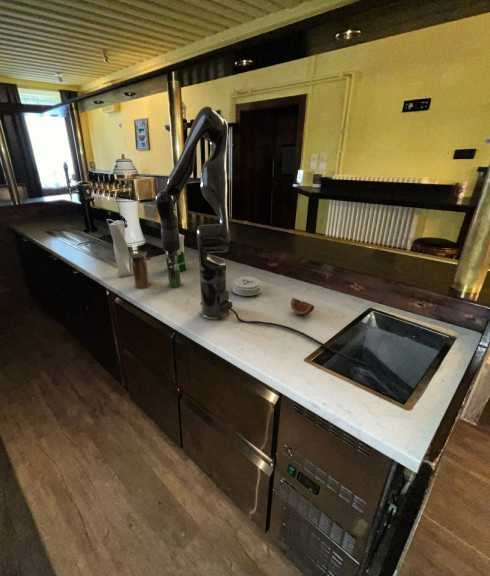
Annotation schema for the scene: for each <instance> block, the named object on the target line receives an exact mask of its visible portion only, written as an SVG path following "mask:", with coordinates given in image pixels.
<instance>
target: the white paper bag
mask: <svg viewBox="0 0 490 576" xmlns="http://www.w3.org/2000/svg"><path fill="white" fill-rule="evenodd" d="M109 221H111V223H109ZM106 222H107V224H108V229H109V232H110V235H111V239H112V243H113V244H112V245H113V246H112V247H113V255H114V260H115V263H116V267H117V270H118V274H119V278H125V277H130V276H131V277H132V276H134V275H133V269H132V257H131V253H130V250H129V247H128V244H127V241H126V227H125V221H123V220H121V219H120V220H118V219H117V220H113V219H110V218H107V219H106Z"/></svg>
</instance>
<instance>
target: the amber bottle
mask: <svg viewBox="0 0 490 576" xmlns="http://www.w3.org/2000/svg"><path fill="white" fill-rule="evenodd" d="M131 259H132V269H133V275H132V276H133V282H134V287H135V288H136V289H147V288H148V287H149V286H150V279H149V271H148V264H147V260H146V259H145V254H144V253H135V254H133V255H131Z"/></svg>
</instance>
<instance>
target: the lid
mask: <svg viewBox="0 0 490 576" xmlns="http://www.w3.org/2000/svg"><path fill="white" fill-rule="evenodd" d="M231 286H232V287H231V291H232V292H233V293H234V294H237V295H239V296H245V297H247V296H249V297H250V296H251V297H252V296H255V295H259V294H261V293H262V291H263V282H262V281H261V280H260V279H259V278H257V277H253V276H241V277H238V278H236V279H234V280H233V281H232V282H231Z"/></svg>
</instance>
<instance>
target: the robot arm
mask: <svg viewBox="0 0 490 576" xmlns="http://www.w3.org/2000/svg"><path fill="white" fill-rule="evenodd" d="M228 135H229V124H228V121H227V119H226V118H225V116H223V115H222V114H221V113H219V112H217V111H216V110H215V109H214V108H213V107H210V106H203V107H202V108H200V110H199V111H198V112H197V114H196V115H195V118H194V120H193V122H192V125H191V127H190V130H189V132H188V135H187V137H186V140H185V142H184V145H183V148H182V151H181V152H180V155H179V158H178V159H177V161H176V163H175V165H174V167H173V169H172V170H171V172H170V174H169V176H168V179H167V183H166V185H165V187H164V189H163V190H160V191H158V192H157V194H156V196H155V205H156V210H157V213H158V216H159V221H160V222H159V223H160V237H161V245H162V250H163V251H164V252H166V251H167V252H168V254H167V259H166V258H165V260H166V267H167V266H168V270H167V272H168V271H170V278H175V277H176V276H175V265H176V264H178V263H177V262H178V254H177V250H179V249H180V239H179V234H180V232H179V226H178V216H177V215H176V214H175V211H174V206H175V204H176V203H177V202H178V200H179V198H180V196H181V194H182V192H183V189H184V188H185V186H186V185H187V183H188V182H189V181H190V178H191V177H192V175H193V172H194V169H195V163H196V162H195V161H196V151H197V147H198V144H199V142H200V140H201V138H204V139H205V140H207V141H208V142H209V146H210V152H209V156H208V158H207V159H206V160H205V162H204V163H203V165H202V166H201V169H200V175H199V176H200V178H199V179H200V191H201V193H202V196H203V197H204V199H205V200H206V202H207V203H208V204H209V205H210V206H211V208H212V209H213V211H214V213H215V215H216V217H217V219H218V224H217V223H214V224H200V225H198V226H197V228H196V243H197V251H198V252H197V253H198V264H199V265H198V266H199V267H198V268H199V283H200V285H199V286H200V300H201V301H200V306H201V316H202V317H203V318H205V319H207V320H213V321H214V320H218V321H221V320H223V319H224V318H225V317H227V315H229V314H230V312H232V313H233V314H234V315H235V317H236V319H237V321H239V322H240V323H245V324H261V325H267V326H268V325H269V326H275V327H279V328H283V329H286V330H289V331H292V332H295V333H297V334H299V335H302V336H303V337H306V338H307V339H309V340H311V341H313V342H314V343H316V344H318V345H320V346H322V347H323V348H325V349H327V350H328V351H330V352H332V353H334V354H335V355H338V356H340V357H342V358H343V359H344V358H345V359H347V360H349V361H352V362H354V363H357V364H360V365H362V366H365V367H369V363H368V362H364V361H361V360H359V359H356V358H353V357H351V356H348V355H346V354H343V353H341V352H339V351H337V350H335V349H333V348H332V347H330V346H329V345H327V344H324V343H323V342H321V341H319V340H317V339H316V338H314V337H312V336H311V335H308V334H306V333H305V332H302V331H300V330H297V329H296V328H293V327H289V326H288V325H287V326H286V325H283V324H279V323H275V322H268V321H261V320H243V319H241V318H240V317H239V314H238V313H237V312H236V311H235V310H234V309H233V301H231V300H230V291H229V290H228V289H227V264H226V261H224V260H222V259H220V258H218V257H215V256H213V255H211V254H212V253H226V252H228V251H229V249H230V246H231V234H230V224H229V223H230V222H229V212H228V211H229V210H228V172H227V170H228V169H227V148H228V147H227V146H228V145H227V144H228ZM210 253H211V254H210ZM170 266H172V268H170Z"/></svg>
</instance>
